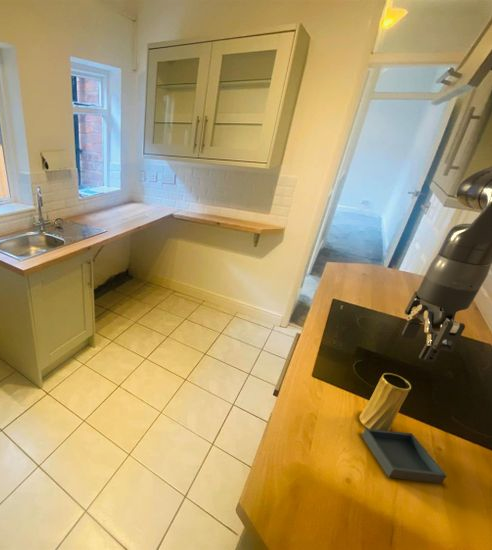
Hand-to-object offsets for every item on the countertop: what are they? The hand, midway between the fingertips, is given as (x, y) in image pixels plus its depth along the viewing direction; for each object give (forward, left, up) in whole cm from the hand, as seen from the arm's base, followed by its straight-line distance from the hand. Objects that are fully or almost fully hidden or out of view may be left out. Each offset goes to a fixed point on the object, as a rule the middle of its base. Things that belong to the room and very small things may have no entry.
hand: (415, 348), depth 64 cm
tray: (0, +8, -24) cm, 26 cm away
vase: (0, -1, -24) cm, 25 cm away
